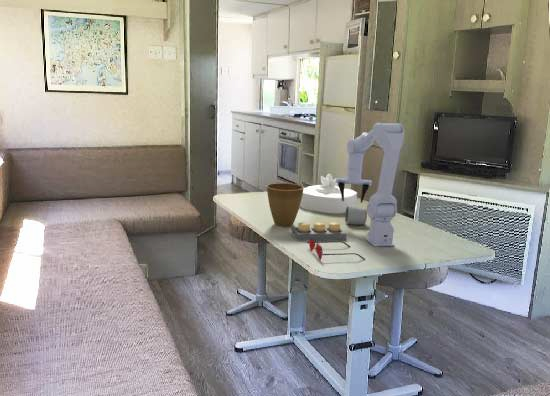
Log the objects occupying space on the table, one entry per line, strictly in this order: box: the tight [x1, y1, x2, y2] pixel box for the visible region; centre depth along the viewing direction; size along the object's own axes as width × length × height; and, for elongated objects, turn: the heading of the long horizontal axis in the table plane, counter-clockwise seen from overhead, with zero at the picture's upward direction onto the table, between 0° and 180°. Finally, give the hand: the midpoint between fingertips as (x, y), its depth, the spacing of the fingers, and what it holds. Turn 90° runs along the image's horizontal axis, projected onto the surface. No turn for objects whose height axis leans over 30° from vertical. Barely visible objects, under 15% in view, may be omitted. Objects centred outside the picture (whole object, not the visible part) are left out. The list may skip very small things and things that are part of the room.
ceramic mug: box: [344, 206, 368, 226], centre depth 214 cm, size 11×8×8 cm
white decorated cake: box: [299, 173, 358, 214], centre depth 242 cm, size 25×25×16 cm
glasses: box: [306, 238, 366, 261], centre depth 173 cm, size 14×16×5 cm
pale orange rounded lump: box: [297, 222, 311, 232], centre depth 191 cm, size 4×4×3 cm
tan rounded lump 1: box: [312, 221, 326, 232], centre depth 192 cm, size 4×4×3 cm
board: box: [289, 226, 348, 241], centre depth 194 cm, size 13×19×2 cm
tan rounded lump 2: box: [328, 221, 341, 232], centre depth 193 cm, size 4×4×3 cm
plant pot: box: [266, 182, 305, 228], centre depth 205 cm, size 15×15×16 cm
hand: (352, 201), depth 210 cm, fingers open, 7 cm apart
